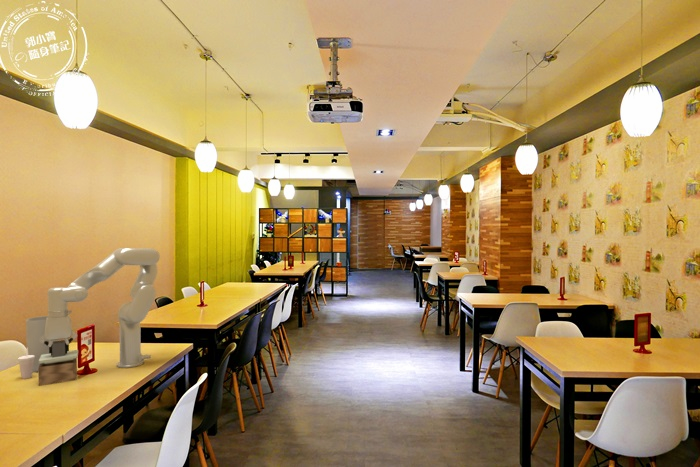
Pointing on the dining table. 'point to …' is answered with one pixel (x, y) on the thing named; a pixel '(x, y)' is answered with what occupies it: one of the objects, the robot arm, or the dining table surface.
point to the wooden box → (57, 372)
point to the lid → (58, 353)
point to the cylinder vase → (36, 339)
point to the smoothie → (26, 365)
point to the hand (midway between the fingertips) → (59, 353)
